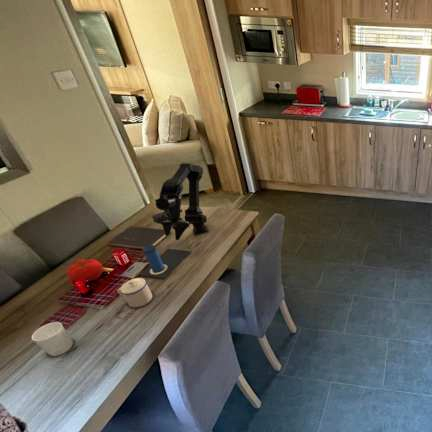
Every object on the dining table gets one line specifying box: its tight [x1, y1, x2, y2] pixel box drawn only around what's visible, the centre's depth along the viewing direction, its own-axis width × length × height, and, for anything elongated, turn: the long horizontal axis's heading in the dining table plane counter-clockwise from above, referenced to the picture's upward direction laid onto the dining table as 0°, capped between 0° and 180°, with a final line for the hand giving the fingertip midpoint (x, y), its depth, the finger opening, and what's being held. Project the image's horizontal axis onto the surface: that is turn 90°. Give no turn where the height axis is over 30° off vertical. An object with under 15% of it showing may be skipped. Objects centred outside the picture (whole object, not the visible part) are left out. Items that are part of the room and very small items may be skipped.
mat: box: [139, 248, 191, 280], centre depth 156 cm, size 20×12×1 cm, turn 174°
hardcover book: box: [107, 225, 171, 251], centre depth 170 cm, size 16×23×2 cm
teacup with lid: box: [117, 277, 153, 308], centre depth 133 cm, size 12×9×12 cm
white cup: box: [31, 321, 74, 357], centre depth 113 cm, size 8×8×10 cm
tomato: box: [66, 258, 104, 282], centre depth 143 cm, size 11×12×9 cm
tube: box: [142, 245, 165, 273], centre depth 148 cm, size 5×5×13 cm
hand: (172, 237), depth 155 cm, fingers open, 9 cm apart
